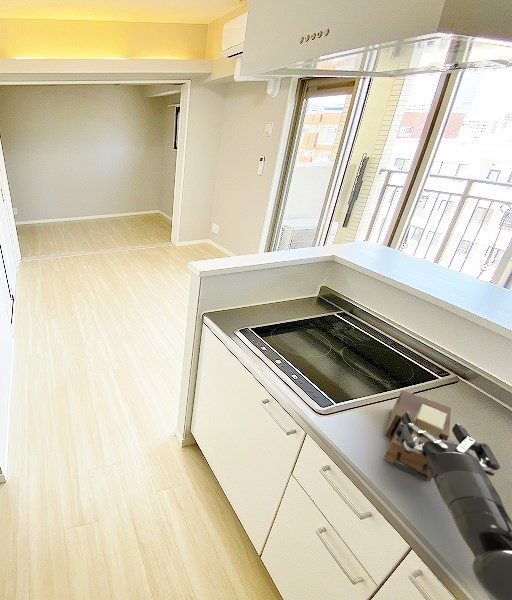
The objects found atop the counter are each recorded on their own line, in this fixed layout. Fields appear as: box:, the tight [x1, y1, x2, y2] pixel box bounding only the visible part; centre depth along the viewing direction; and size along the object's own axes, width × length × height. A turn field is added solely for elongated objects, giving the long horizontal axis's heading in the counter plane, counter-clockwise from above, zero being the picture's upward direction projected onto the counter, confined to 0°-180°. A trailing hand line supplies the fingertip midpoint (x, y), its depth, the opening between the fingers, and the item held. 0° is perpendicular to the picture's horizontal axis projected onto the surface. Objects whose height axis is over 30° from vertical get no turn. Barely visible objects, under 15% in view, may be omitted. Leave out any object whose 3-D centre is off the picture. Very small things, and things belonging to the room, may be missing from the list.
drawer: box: [383, 420, 439, 482], centre depth 75 cm, size 15×8×6 cm, turn 136°
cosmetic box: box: [413, 404, 447, 444], centre depth 74 cm, size 6×4×12 cm
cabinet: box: [385, 389, 452, 441], centre depth 83 cm, size 12×10×8 cm
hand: (430, 420), depth 72 cm, fingers open, 8 cm apart
